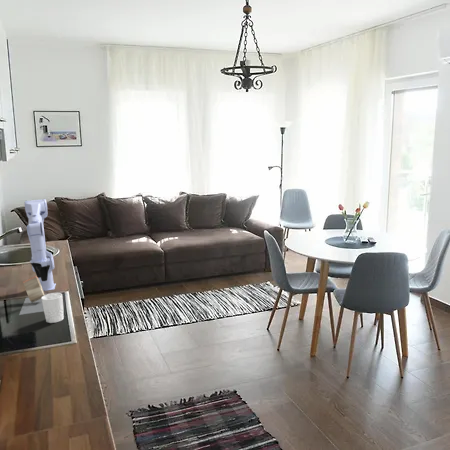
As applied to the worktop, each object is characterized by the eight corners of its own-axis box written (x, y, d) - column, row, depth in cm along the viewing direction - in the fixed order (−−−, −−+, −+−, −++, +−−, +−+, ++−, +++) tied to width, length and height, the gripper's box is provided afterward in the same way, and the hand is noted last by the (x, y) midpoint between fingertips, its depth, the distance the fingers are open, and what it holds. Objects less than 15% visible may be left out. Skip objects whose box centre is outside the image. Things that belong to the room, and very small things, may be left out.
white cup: (40, 322, 184) (36, 299, 182) (53, 315, 191) (50, 292, 189) (56, 324, 181) (53, 300, 179) (69, 316, 189) (66, 293, 187)
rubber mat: (26, 298, 214) (25, 297, 214) (57, 294, 217) (57, 293, 217) (19, 315, 193) (18, 314, 193) (54, 310, 197) (54, 309, 196)
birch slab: (32, 302, 207) (25, 283, 210) (45, 296, 208) (38, 277, 211) (30, 301, 204) (22, 281, 207) (43, 294, 205) (35, 275, 209)
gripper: (24, 248, 210) (29, 277, 212) (32, 254, 198) (37, 284, 200) (41, 246, 214) (45, 274, 216) (49, 250, 202) (53, 280, 204)
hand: (42, 279), depth 208 cm, fingers open, 7 cm apart
